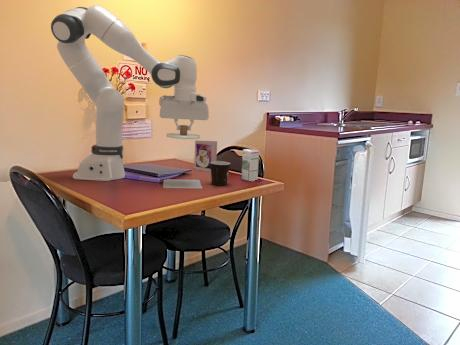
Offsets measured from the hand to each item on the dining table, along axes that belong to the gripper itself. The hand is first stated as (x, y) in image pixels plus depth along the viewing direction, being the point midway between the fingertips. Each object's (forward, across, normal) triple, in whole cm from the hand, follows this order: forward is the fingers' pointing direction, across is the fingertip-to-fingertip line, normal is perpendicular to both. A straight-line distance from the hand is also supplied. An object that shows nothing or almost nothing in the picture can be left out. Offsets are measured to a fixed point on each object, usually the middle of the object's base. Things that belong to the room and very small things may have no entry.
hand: (183, 130), depth 166 cm
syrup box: (+24, +32, +12) cm, 42 cm away
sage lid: (+3, 0, 0) cm, 3 cm away
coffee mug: (+24, +15, -1) cm, 28 cm away
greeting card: (+24, +14, +35) cm, 45 cm away
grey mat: (+24, 0, 0) cm, 24 cm away
